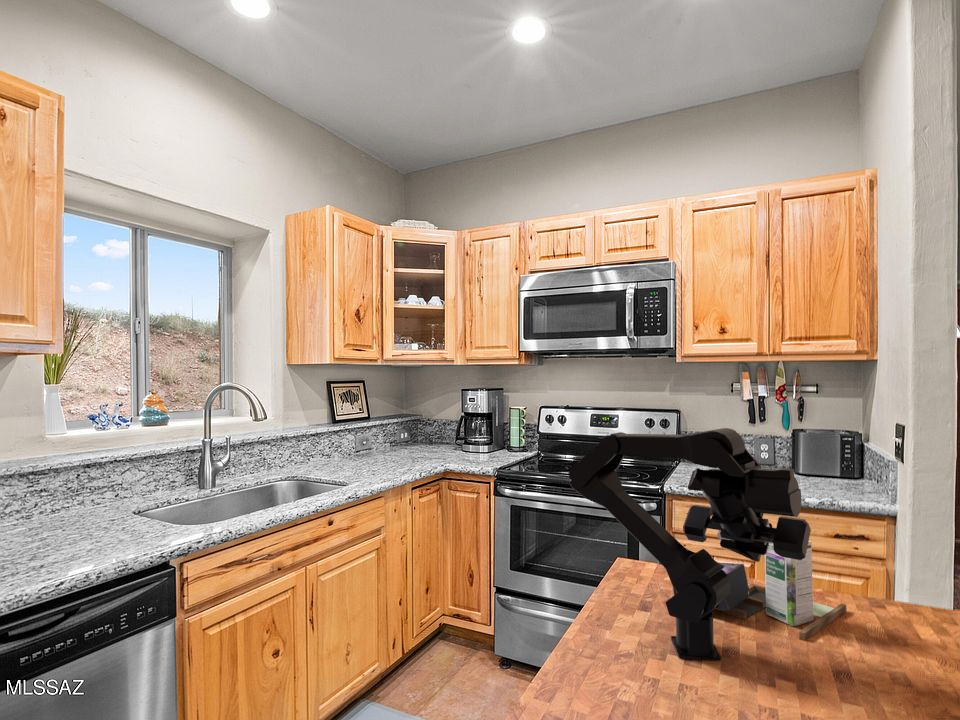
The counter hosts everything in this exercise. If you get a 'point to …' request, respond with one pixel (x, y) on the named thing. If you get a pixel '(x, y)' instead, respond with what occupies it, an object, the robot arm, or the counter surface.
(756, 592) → the lane
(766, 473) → the robot arm
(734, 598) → the small box
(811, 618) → the syrup box
